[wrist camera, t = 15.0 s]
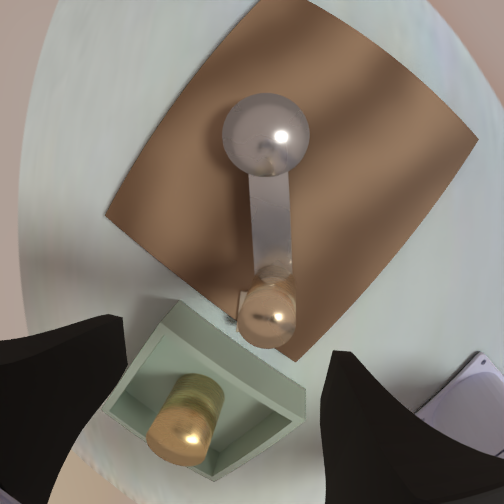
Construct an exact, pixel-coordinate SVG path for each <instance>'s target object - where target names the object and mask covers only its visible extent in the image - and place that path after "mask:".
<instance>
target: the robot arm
mask: <svg viewBox="0 0 504 504" xmlns="http://www.w3.org/2000/svg"><path fill="white" fill-rule="evenodd" d="M127 365H128V364H127V356H126V347H125V338H124V329H123V318H122V317H118V316H114V315H110V314H106V315H101V316H97V317H94V318H90V319H87V320H84V321H80V322H77V323H74V324H71V325H68V326H65V327H61V328H58V329H55V330H51V331H47V332H44V333H40V334H36V335H32V336H28V337H23V338H17V339H11V340H4V341H3V340H2V341H0V504H47V503H48V500H49V497H50V494H51V491H52V489H53V486H54V484H55V481H56V479H57V477H58V474H59V472H60V469H61V467H62V466H63V463H64V462H65V460H66V458H67V455H68V453H69V452H70V450H71V448H72V446H73V444H74V443H75V441H76V439H77V437H78V436H79V434H80V432H81V431H82V429H83V428H84V427H85V425H86V424H87V423H88V421H89V420H90V419H91V417H92V416H93V415H94V414H95V412H96V411H97V410H98V408H99V407H100V406H101V405H102V403H103V402H104V401H105V400H106V398H107V397H108V396H109V394H110V393H111V392H112V390H113V389H114V388H115V386H116V385H117V383H118V382H119V380H120V378H121V376H122V375H123V373H124V371H125V369H126V367H127ZM320 428H321V438H322V447H323V456H324V466H325V476H326V499H325V504H504V375H503V374H502V373H501V372H500V371H499V370H498V369H497V367H496V366H495V365H494V364H493V363H492V362H491V361H490V359H489V358H488V357H487V356H486V355H485V354H484V353H483V352H480V353H478V354H477V355H476V356H475V357H474V358H473V359H472V360H471V361H470V362H469V363H468V364H467V365H466V367H465V368H464V369H463V370H462V371H461V372H460V373H459V374H458V375H457V376H456V377H455V378H454V379H453V380H452V381H451V382H450V383H449V384H448V385H447V386H446V387H444V388H443V389H442V390H441V391H440V392H439V393H438V394H437V395H436V396H435V397H434V398H433V399H432V400H430V401H429V402H428V403H427V404H426V405H425V406H424V407H422V408H421V409H420V410H419V411H418V412H417V413H415V414H413V413H412V412H411V411H409V410H408V409H407V408H406V407H404V406H403V405H402V404H401V403H400V402H399V401H398V400H397V399H395V398H394V397H393V396H392V395H391V394H390V393H389V392H388V391H387V390H386V389H385V388H384V387H383V386H382V385H381V384H380V383H379V382H378V381H377V380H376V379H375V378H374V377H373V375H372V374H371V373H370V372H369V371H368V370H367V369H366V368H365V367H364V365H363V364H362V363H361V362H360V361H359V360H358V359H357V357H356V356H355V355H354V354H353V353H352V352H347V351H335V350H333V352H332V356H331V360H330V364H329V368H328V372H327V376H326V380H325V384H324V388H323V391H322V395H321V401H320Z"/></svg>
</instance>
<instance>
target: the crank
mask: <svg viewBox="0 0 504 504" xmlns="http://www.w3.org/2000/svg"><path fill="white" fill-rule="evenodd" d="M309 138H310V132H309V126H308V122H307V119H306V117H305V115H304V114H303V112H302V111H301V109H300V108H299V107H298V106H297V105H296V104H295V103H294V102H292V101H291V100H290V99H288V98H286V97H284V96H281V95H278V94H273V93H259V94H254V95H251V96H248V97H246V98H244V99H243V100H241V101H240V102H238V103H237V104H236V105H235V106H234V107H233V108H232V109H231V110H230V112H229V113H228V115H227V117H226V119H225V121H224V125H223V130H222V140H223V145H224V149H225V151H226V154H227V155H228V157H229V159H230V160H231V161H232V162H233V163H234V164H235V165H236V166H237V167H238V168H239V169H241V170H242V171H244V172H246V173H248V175H249V191H250V207H251V223H252V239H253V255H254V272H255V276H254V278H253V280H252V282H251V285H250V287H249V290H248V292H247V294H246V297H245V299H244V302H243V304H242V307H241V309H240V311H239V314H238V318H237V325H238V329H239V332H240V334H241V335H242V337H243V338H244V339H245V340H246V341H247V342H248V343H250V344H252V345H253V346H256V347H259V348H264V349H271V348H276V347H279V346H282V345H283V344H285V343H286V342H287V341H288V340H289V339H290V338H291V337H292V335H293V333H294V331H295V326H296V282H295V279H294V277H293V273H292V240H291V215H290V193H289V174H288V172H289V171H291V170H292V169H293V168H295V167H296V166H297V165H298V164H299V163H300V161H301V160H302V158H303V157H304V155H305V153H306V150H307V148H308V144H309Z"/></svg>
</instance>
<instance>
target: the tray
mask: <svg viewBox="0 0 504 504" xmlns="http://www.w3.org/2000/svg"><path fill="white" fill-rule="evenodd" d="M189 373H197V374H202V375H205V376H207V377H209V378H211V379H213V380H214V381H216V382H217V383H218V384H219V385H220V387H221V388H222V390H223V392H224V395H225V400H224V404H223V407H222V410H221V413H220V416H219V419H218V422H217V425H216V427H215V430H214V433H213V436H212V439H211V442H210V445H209V448H208V451H207V454H206V457H205V459H204V461H203V462H202V463H201V464H199V465H196V466H186V467H187V468H189V469H191V470H193V471H195V472H196V473H198V474H200V475H202V476H204V477H206V478H208V479H210V480H212V481H213V482H215V481H217V480H218V479H220V478H222V477H223V476H225V475H227V474H229V473H230V472H232V471H233V470H235V469H237V468H238V467H240V466H241V465H243V464H245V463H246V462H248V461H249V460H251V459H252V458H254V457H255V456H257V455H258V454H260V453H261V452H263V451H264V450H266V449H267V448H269V447H270V446H272V445H273V444H275V443H276V442H277V441H279V440H280V439H282V438H283V437H284V436H286V435H287V434H288V433H290V432H291V431H293V430H294V429H295V428H297V427H298V426H299V425H301V424H302V423H303V422H304V421H306V389H305V388H303V387H302V386H300V385H298V384H297V383H295V382H294V381H292V380H291V379H289V378H288V377H286V376H285V375H283V374H282V373H280V372H279V371H277V370H276V369H274V368H273V367H271V366H270V365H268V364H267V363H265V362H264V361H262V360H261V359H259V358H258V357H257V356H255V355H254V354H252V353H251V352H249V351H248V350H246V349H245V348H244V347H242V346H241V345H239V344H238V343H237V342H235V341H234V340H232V339H231V338H230V337H228V336H227V335H225V334H224V333H223V332H221V331H220V330H219V329H217V328H216V327H215V326H213V325H212V324H210V323H209V322H208V321H206V320H205V319H204V318H202V317H201V316H200V315H198V314H197V313H196V312H195V311H193V310H192V309H191V308H189V307H188V306H187V305H185V304H184V303H183V302H182V301H179V302H178V303H177V304H176V305H175V306H174V307H173V308H172V309H171V311H170V312H169V313H168V314H167V315H166V316H165V317H164V318H163V320H162V321H161V322H160V323H159V325H158V326H157V327H156V329H155V330H154V332H153V333H152V335H151V336H150V338H149V339H148V340H147V342H146V343H145V345H144V346H143V348H142V349H141V351H140V352H139V354H138V355H137V357H136V358H135V359H134V361H133V362H132V364H131V365H130V367H129V368H128V370H127V371H126V373H125V374H124V376H123V377H122V379H121V380H120V382H119V383H118V385H117V386H116V388H115V389H114V391H113V392H112V394H111V395H110V397H109V398H108V400H107V401H106V403H105V404H104V406H103V407H102V409H101V410H102V411H103V412H105V413H106V414H107V415H109V416H110V417H111V418H113V419H114V420H115V421H117V422H118V423H119V424H121V425H122V426H123V427H125V428H126V429H128V430H129V431H130V432H132V433H133V434H135V435H136V436H138V437H139V438H140V439H142V440H143V441H145V442H146V443H147V441H146V433H147V432H148V430H149V428H150V427H151V425H152V423H153V421H154V420H155V418H156V416H157V414H158V413H159V411H160V409H161V407H162V406H163V404H164V402H165V400H166V399H167V397H168V395H169V393H170V392H171V390H172V388H173V386H174V385H175V383H176V381H177V380H178V378H180V377H181V376H183V375H185V374H189Z"/></svg>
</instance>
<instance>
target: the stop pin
mask: <svg viewBox="0 0 504 504" xmlns="http://www.w3.org/2000/svg"><path fill="white" fill-rule="evenodd" d="M224 400H225V395H224V392H223V390H222V388H221V387H220V385H219V384H218V383H217V382H216V381H214V380H213V379H211V378H209V377H207V376H205V375H202V374H197V373H189V374H185V375H183V376H181V377H180V378H178V380H177V381H176V383H175V385H174V386H173V388H172V390H171V392H170V393H169V395H168V397H167V399H166V400H165V402H164V404H163V406H162V407H161V409H160V411H159V413H158V414H157V416H156V418H155V420H154V421H153V423H152V425H151V427H150V428H149V430H148V432H147V433H146V441H147V444H148V446H149V447H150V449H151V450H152V451H153V452H154V453H155V454H156V455H158V456H159V457H161V458H162V459H164V460H166V461H168V462H170V463H173V464H176V465H180V466H196V465H199V464H201V463H202V462H203V461H204V459H205V457H206V454H207V451H208V448H209V445H210V442H211V439H212V436H213V433H214V430H215V427H216V425H217V422H218V419H219V416H220V413H221V410H222V407H223V404H224Z"/></svg>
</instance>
